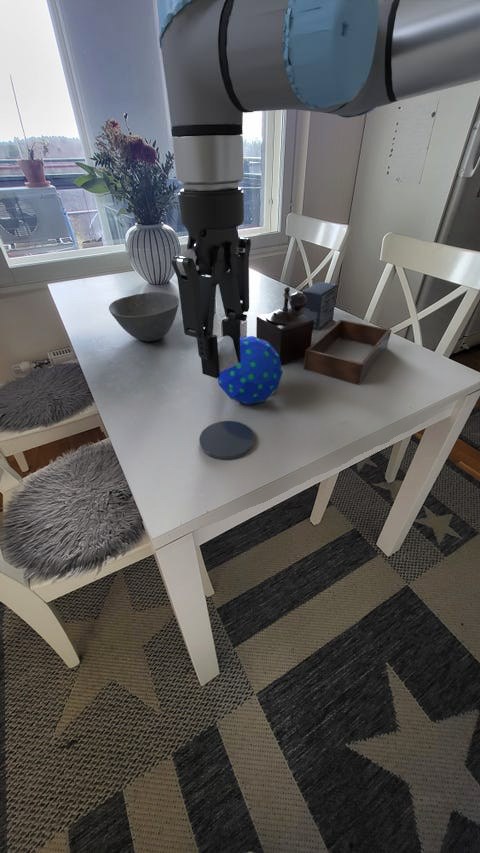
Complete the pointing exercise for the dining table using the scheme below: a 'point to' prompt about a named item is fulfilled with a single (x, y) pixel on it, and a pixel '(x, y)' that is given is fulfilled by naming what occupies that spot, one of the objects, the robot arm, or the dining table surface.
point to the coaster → (226, 440)
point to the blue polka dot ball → (252, 372)
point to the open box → (341, 366)
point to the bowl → (146, 314)
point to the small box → (320, 303)
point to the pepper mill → (287, 328)
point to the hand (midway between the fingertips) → (222, 367)
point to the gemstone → (226, 353)
